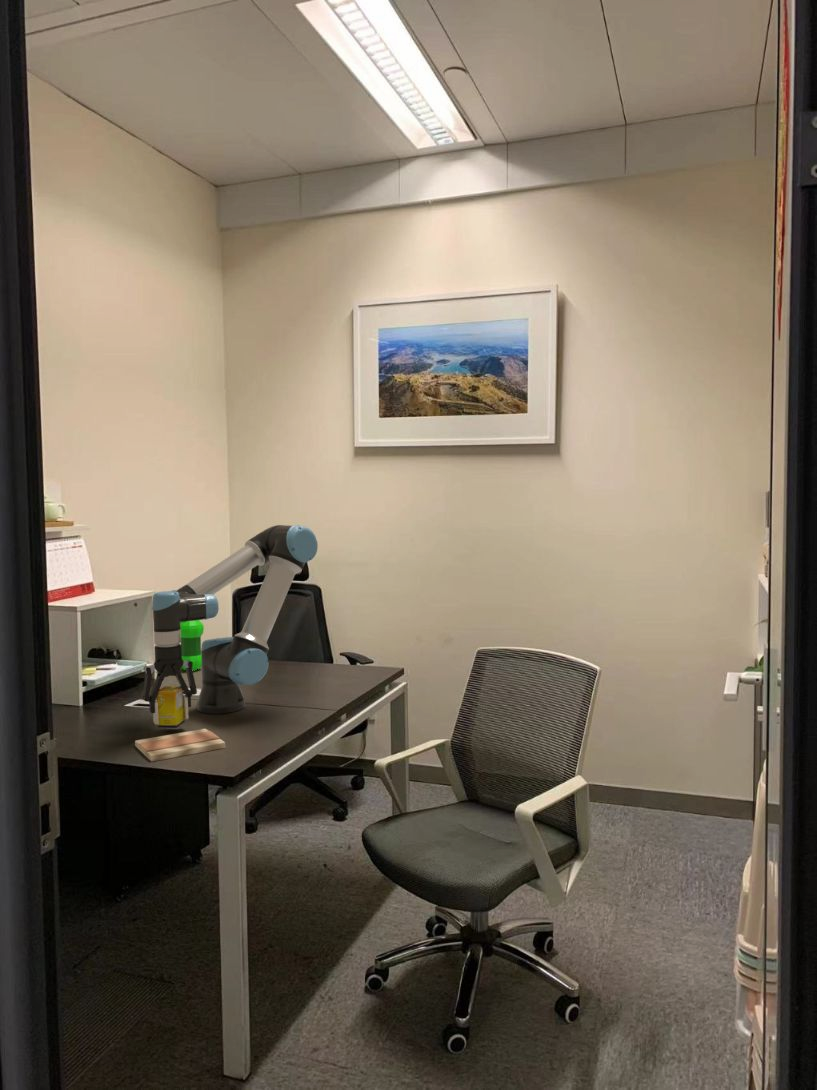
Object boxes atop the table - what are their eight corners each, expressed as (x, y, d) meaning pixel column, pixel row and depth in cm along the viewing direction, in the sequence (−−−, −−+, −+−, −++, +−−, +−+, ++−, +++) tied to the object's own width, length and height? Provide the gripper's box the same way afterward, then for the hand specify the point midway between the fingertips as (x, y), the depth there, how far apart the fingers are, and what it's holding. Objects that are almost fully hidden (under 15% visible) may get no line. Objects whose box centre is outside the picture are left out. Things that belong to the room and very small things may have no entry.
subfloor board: (205, 733, 228) (205, 727, 228) (225, 747, 215) (225, 741, 215) (135, 745, 217) (135, 739, 217) (151, 761, 204) (151, 754, 204)
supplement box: (165, 721, 234) (163, 685, 233) (184, 722, 233) (183, 686, 232) (157, 728, 228) (155, 691, 227) (177, 728, 227) (175, 691, 227)
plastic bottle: (199, 673, 309) (197, 610, 308) (173, 672, 311) (172, 610, 309) (208, 667, 319) (207, 607, 318) (184, 667, 321) (182, 606, 319)
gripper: (198, 638, 238) (201, 711, 239) (127, 647, 226) (131, 724, 228) (206, 641, 232) (209, 717, 233) (134, 651, 220) (138, 730, 222)
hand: (171, 720), depth 230 cm, fingers closed on supplement box, 8 cm apart
